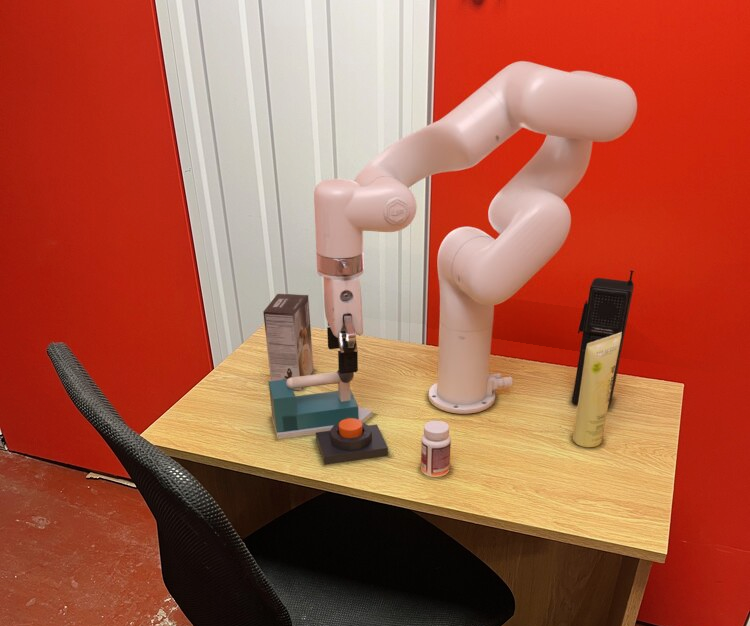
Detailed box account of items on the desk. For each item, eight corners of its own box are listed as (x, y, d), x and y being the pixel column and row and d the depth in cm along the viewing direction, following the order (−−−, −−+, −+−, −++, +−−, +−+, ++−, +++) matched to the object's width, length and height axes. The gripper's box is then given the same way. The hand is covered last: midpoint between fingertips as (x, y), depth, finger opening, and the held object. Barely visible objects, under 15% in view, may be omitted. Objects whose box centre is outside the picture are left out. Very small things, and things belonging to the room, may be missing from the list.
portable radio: (565, 404, 145) (585, 273, 130) (571, 389, 150) (591, 262, 135) (608, 411, 143) (633, 279, 128) (613, 396, 147) (637, 267, 132)
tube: (600, 452, 132) (620, 346, 120) (569, 447, 133) (586, 342, 122) (602, 435, 136) (622, 331, 125) (573, 431, 137) (590, 328, 126)
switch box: (376, 432, 138) (376, 415, 136) (387, 456, 132) (387, 438, 130) (316, 440, 136) (314, 423, 134) (324, 465, 130) (323, 447, 128)
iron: (368, 405, 146) (367, 354, 140) (377, 425, 140) (376, 373, 134) (272, 418, 143) (266, 366, 136) (277, 439, 137) (272, 386, 130)
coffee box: (284, 367, 159) (277, 292, 149) (314, 370, 158) (309, 294, 148) (270, 388, 152) (262, 310, 142) (302, 391, 151) (295, 313, 141)
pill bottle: (453, 466, 129) (456, 422, 124) (442, 480, 126) (445, 436, 121) (427, 459, 131) (428, 416, 126) (415, 473, 127) (416, 430, 122)
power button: (359, 425, 134) (359, 416, 133) (364, 437, 131) (364, 428, 130) (337, 428, 133) (336, 419, 132) (341, 440, 130) (341, 431, 129)
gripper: (375, 279, 119) (374, 380, 129) (351, 244, 132) (353, 337, 142) (327, 283, 117) (330, 384, 127) (308, 247, 131) (312, 341, 141)
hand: (342, 359), depth 135 cm, fingers open, 9 cm apart
